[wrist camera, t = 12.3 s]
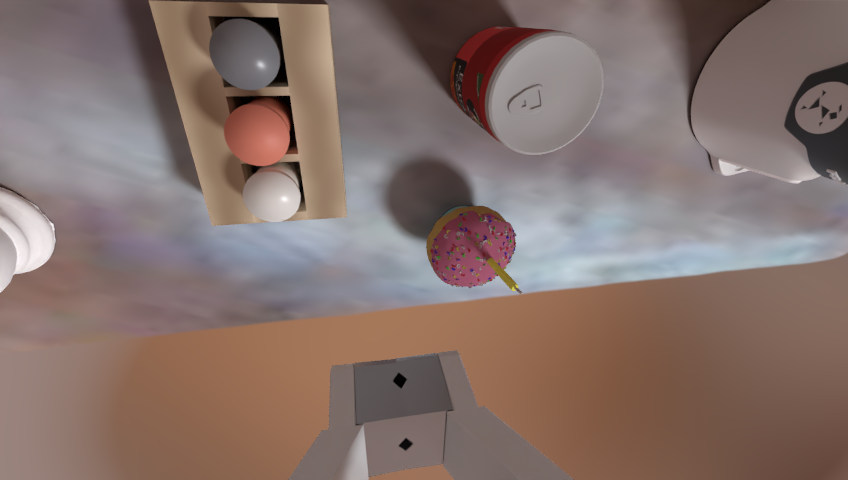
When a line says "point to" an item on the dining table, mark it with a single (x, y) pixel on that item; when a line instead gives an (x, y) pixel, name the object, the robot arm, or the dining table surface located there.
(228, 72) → the graphite plug
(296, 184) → the white rounded piece
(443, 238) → the cupcake
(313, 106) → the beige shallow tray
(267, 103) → the red plug
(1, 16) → the dining table surface
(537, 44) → the canned food
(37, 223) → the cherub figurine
